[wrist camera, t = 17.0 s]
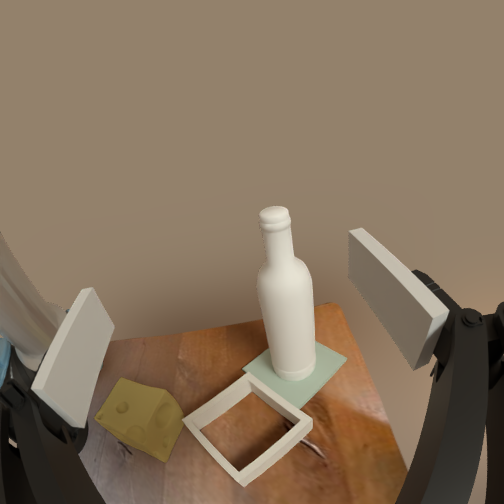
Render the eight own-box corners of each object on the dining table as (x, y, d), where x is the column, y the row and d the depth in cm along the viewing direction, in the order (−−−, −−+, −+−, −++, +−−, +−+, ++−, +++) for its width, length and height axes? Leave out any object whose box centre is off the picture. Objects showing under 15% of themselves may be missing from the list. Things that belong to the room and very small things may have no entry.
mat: (242, 370, 48) (242, 368, 48) (292, 330, 56) (292, 328, 55) (296, 411, 38) (296, 410, 38) (346, 359, 46) (347, 358, 45)
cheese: (167, 464, 32) (137, 443, 27) (120, 442, 35) (88, 417, 30) (190, 417, 40) (168, 388, 35) (144, 402, 44) (119, 372, 39)
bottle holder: (190, 429, 38) (181, 419, 36) (252, 383, 45) (248, 371, 43) (243, 487, 28) (237, 482, 26) (312, 428, 35) (312, 418, 33)
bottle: (309, 385, 42) (297, 225, 28) (267, 378, 45) (229, 225, 31) (320, 351, 48) (311, 198, 34) (281, 346, 51) (255, 199, 37)
